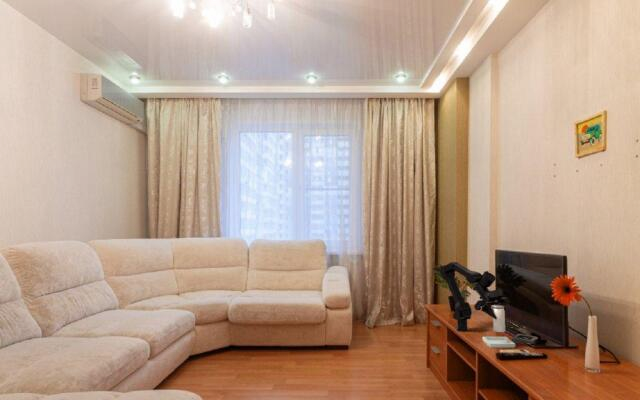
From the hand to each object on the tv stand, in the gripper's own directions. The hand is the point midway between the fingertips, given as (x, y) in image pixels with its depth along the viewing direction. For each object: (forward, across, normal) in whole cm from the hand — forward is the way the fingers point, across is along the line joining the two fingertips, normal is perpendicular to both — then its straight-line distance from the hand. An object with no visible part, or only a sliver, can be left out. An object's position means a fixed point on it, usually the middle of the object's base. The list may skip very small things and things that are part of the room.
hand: (500, 318), depth 196 cm
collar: (+9, +15, +9) cm, 20 cm away
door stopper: (-8, +31, +28) cm, 42 cm away
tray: (+8, -1, +10) cm, 13 cm away
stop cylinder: (+4, 0, +6) cm, 7 cm away
